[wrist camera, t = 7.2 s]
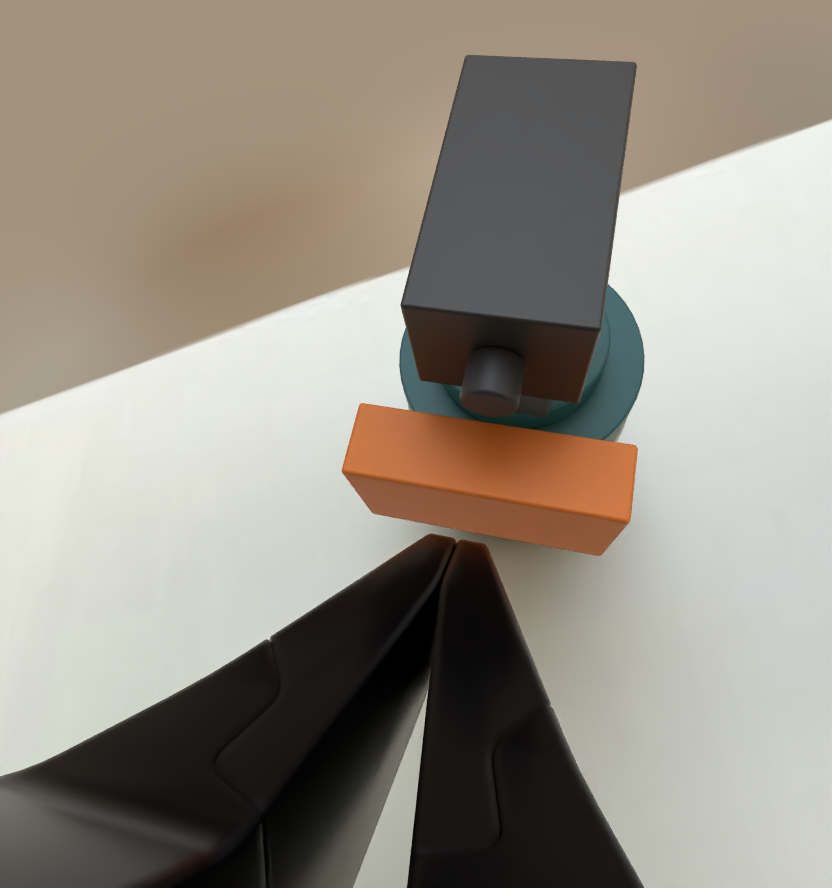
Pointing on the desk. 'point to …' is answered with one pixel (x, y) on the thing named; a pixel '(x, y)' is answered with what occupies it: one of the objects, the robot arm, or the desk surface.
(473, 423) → the block
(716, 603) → the desk surface
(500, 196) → the spray bottle
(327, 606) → the robot arm
